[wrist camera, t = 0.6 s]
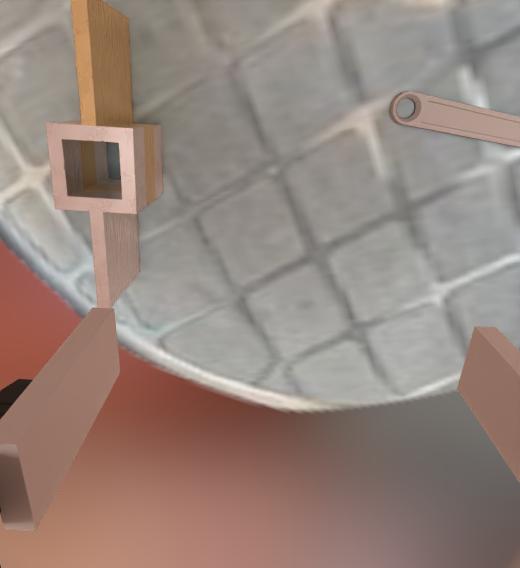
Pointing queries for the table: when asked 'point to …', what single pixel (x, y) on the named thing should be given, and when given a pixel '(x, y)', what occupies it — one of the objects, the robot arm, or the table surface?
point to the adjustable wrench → (459, 119)
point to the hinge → (105, 149)
